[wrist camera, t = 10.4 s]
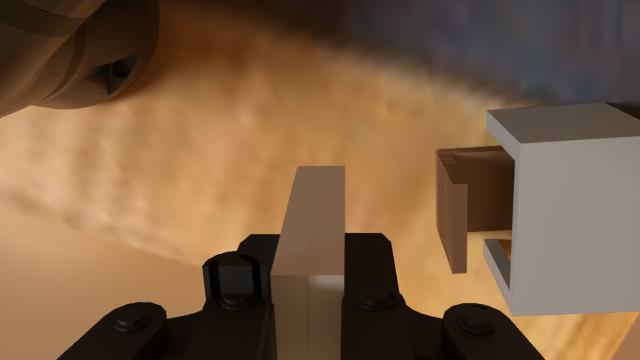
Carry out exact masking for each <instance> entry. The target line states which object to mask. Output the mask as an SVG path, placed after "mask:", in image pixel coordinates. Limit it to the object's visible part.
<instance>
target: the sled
mask: <svg viewBox="0 0 640 360" xmlns="http://www.w3.org/2000/svg"><path fill="white" fill-rule="evenodd" d="M514 179H515V160H514V159H513V158H512V157H511V156H510V155H509V153H508V152H507V151H506V150H505V149H504V148H503V147H502V146H494V147H479V148H463V149H447V150H436V211H437V230H438V233H439V236H440V239H441V241H442V244H443V247H444V250H445V253H446V256H447V259H448V262H449V265H450V268H451V271H452V273H453V274H458V273H467V232H478V231H498V230H512V225H513V202H514Z"/></svg>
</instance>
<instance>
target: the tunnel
mask: <svg viewBox="0 0 640 360" xmlns="http://www.w3.org/2000/svg"><path fill="white" fill-rule="evenodd" d="M486 129H487V130H488V131H489V132H490V133H491V135H492V136H493V137H494V138H495V139H496V140H497V141H498V142H499V143H500V145H501V146H502V147H503V148H504V149H505V150H506V151H507V152H508V153H509V155H510V156H511V157H512V158H513V159H514V160H515V179H514V202H513V225H512V248H511V262H510V260H509V258H508V256H507V255H506V253H505V251H504V249H503V247H502V246H501V244H500V242H499V240H498V239H488V240H484V246H483V255H484V257H485V260H486V262H487V264H488V266H489V268H490V270H491V272H492V274H493V276H494V278H495V280H496V283H497V285H498V287H499V289H500V291H501V293H502V295H503V297H504V299H505V301H506V304H507V306H508V308H509V310H510V312H511V314H512V316H536V315H562V314H587V313H613V312H639V311H640V120H639V119H637V118H635V117H632V116H630V115H628V114H626V113H624V112H622V111H620V110H618V109H616V108H614V107H612V106H610V105H608V104H606V103H604V102H602V103H588V104H573V105H559V106H545V107H530V108H516V109H501V110H487V118H486Z"/></svg>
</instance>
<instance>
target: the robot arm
mask: <svg viewBox="0 0 640 360" xmlns="http://www.w3.org/2000/svg"><path fill="white" fill-rule="evenodd" d="M158 29H159V9H158V2H157V0H0V118H1V117H4V116H6V115H9V114H11V113H14V112H16V111H18V110H21V109H23V108H26V107H28V106H30V105H33V106H40V107H46V108H53V109H78V108H85V107H89V106H93V105H96V104H99V103H101V102H104V101H106V100H108V99H110V98H112V97H114V96H116V95H118V94H119V93H121V92H123V91H124V90H126V89H127V88H128V87H129V86H131V85H132V84H133V83H134V82H135V81H136V80H137V79H138V78H139V77H140V75H141V74H142V73H143V71H144V70H145V68H146V67H147V65H148V63H149V61H150V59H151V57H152V54H153V52H154V49H155V45H156V41H157V37H158ZM202 269H203V278H204V286H205V295H206V302H205V304H204V306H203V309H202V310H201V311H199V312H196V313H193V314H189V315H185V316H180V317H175V318H170V319H167V315H166V311H165V310H164V309H163V308H162V307H161V306H160V305H157V304H154V303H151V302H136V303H130V304H127V305H124V306H121V307H119V308H116V309H114V310H113V311H111V312H110V313H109V314H107V315H105V316H104V317H103V318H102V319H101V320H100V321H98V322H97V323H96V324H95V325H94V326H93V327H92V328H91V329H90V330H89V331H87V332H86V333H85V334H84V335H83V336H82V337H81V338H80V339H79V340H78V341H76V342H75V343H74V344H73V345H72V346H71V347H70V348H69V349H68V350H66V351H65V352H64V353H63V354H62V355H61V356H60V357H59V358H58V359H57V360H545V359H544V358H543V356H542V355H541V354H540V353H539V352H538V351H537V350H536V348H535V347H534V346H533V345H532V344H531V343H530V342H529V340H528V339H527V338H526V337H525V336H524V335H523V334H522V332H521V331H520V330H519V329H518V328H517V327H516V326H515V324H514V323H513V322H512V321H511V320H510V319H509V318H508V317H507V316H506V315H505V314H503V313H502V312H501V311H499V310H497V309H495V308H492V307H490V306H487V305H483V304H477V303H462V304H458V305H455V306H452V307H450V308H449V309H448V310H446V311H445V313H444V316H443V319H442V318H437V317H432V316H428V315H425V314H421V313H419V312H417V311H415V310H413V309H411V308H410V307H408V306H407V305H406V302H405V300H404V298H403V296H402V294H400V293H399V287H398V281H397V275H396V269H395V263H394V257H393V251H392V245H391V242H390V241H389V240H388V239H387V238H386V237H385V236H384V235H383V234H382V233H345V166H298V167H297V171H296V175H295V179H294V183H293V187H292V191H291V195H290V199H289V203H288V206H287V210H286V214H285V218H284V222H283V226H282V230H281V234H251V235H249V236H248V237H247V238H246V239H245V240H243V241H242V242H241V243H240V244H239V247H238V249H237V251H230V252H225V253H222V254H218V255H216V256H214V257H212V258H210V259H208V260H207V261H206V262H205V263H204V265H203V266H202Z"/></svg>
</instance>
